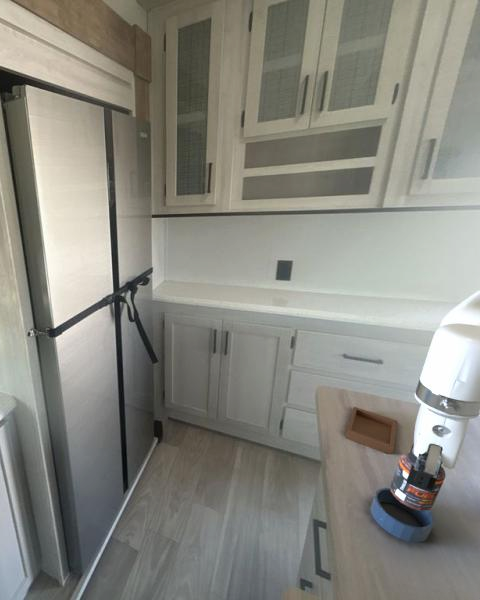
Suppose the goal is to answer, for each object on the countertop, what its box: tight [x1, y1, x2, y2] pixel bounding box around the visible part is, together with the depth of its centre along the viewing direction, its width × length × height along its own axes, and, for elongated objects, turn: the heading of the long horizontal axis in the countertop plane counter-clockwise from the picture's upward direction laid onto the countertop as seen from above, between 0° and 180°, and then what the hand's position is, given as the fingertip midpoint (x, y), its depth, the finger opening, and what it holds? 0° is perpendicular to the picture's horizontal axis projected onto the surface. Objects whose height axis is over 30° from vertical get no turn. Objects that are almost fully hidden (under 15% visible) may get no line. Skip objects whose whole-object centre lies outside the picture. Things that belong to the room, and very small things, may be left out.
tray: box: [344, 406, 398, 455], centre depth 87 cm, size 12×9×2 cm
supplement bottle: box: [389, 447, 447, 511], centre depth 62 cm, size 6×6×11 cm
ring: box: [369, 487, 435, 544], centre depth 66 cm, size 8×8×5 cm
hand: (419, 473), depth 61 cm, fingers closed on supplement bottle, 6 cm apart
